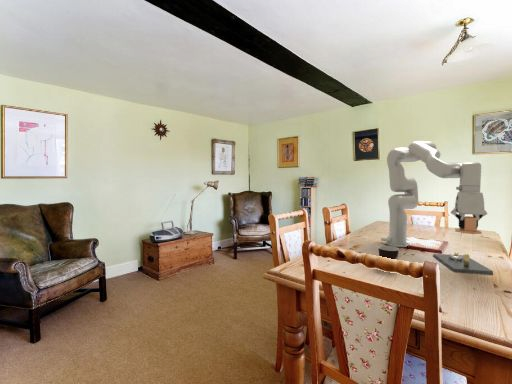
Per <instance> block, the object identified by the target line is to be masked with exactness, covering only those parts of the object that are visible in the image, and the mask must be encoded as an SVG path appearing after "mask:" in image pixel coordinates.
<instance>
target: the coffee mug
mask: <svg viewBox="0 0 512 384" xmlns="http://www.w3.org/2000/svg"><path fill="white" fill-rule="evenodd" d="M377 248H378V257H379V256H382V257H387V258H391V259H397V260H398V256H399V250H400V249H399V247H394V246H390V245H379V246H378V247H377Z"/></svg>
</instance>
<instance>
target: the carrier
mask: <svg viewBox="0 0 512 384" xmlns="http://www.w3.org/2000/svg"><path fill="white" fill-rule="evenodd" d="M432 256H433V258H435V259H436V260H437V261H438V262H440V263H441V264H443V265H444V266H445V267H447V268H448V269H450V270H451V271H452V272H454V273H463V274H464V273H465V274H477V275H478V274H481V275H491V276H493V275H494V271H493V270H492V269H491V268H488V267H487V266H485V265H483V264H481V263H480V262H478V261H476V260H475V259H473V258H471V257H470V254H469V253H465V254H463V255H462V254H459V252H454V254H451V253H450V254H449V253H448V254H446V253H445V254H444V253H443V254H442V253H433V255H432Z"/></svg>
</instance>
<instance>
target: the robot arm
mask: <svg viewBox="0 0 512 384" xmlns="http://www.w3.org/2000/svg"><path fill="white" fill-rule="evenodd" d="M440 157H441V152H440V151H439V150H438V149H437V145H436V143H434V142H433V141H429V140H426V141H425V140H417V141H416V140H415V141H412V142H411V143H409V145H408V147H396V148H393V149H391V150H390V151H389V152H388V154H387V157H386V165H387V168H388V177H389V188H390V190H391V191H392V192H393V193H397V194H393V195H391V196H390V197H389V198H388V201H387V204H388V209H389V228H388V229H389V232H388V236H386V237H380V241H383V242H385V243H386V246H393V247H396V248H407V246H408V245H409V246H410V244H409V243H408V242H407V236H408V234H407V230H408V228H407V227H408V216H407V213H406V211H405V210H414V209H415V208H417V207H418V205H419V187H418V183H417V180H416V179H415V178H414V177H411V176H406V175H405V168H404V166H403V164H402V163H414V162H418V161H421V162H423V163H424V164H425V166H426V169H427V170H428V171H429V172H430V173H432V174H433V175H434V176H436V177H439V178H441V179H459V184H458V186H456V187H455V188H456V190H457V191H458V192H457V195H456V197H455V203H454V207H453V209H452V210H451V211H450V214H451V215H453V216H454V217H456V219H457V220H458V227H459V228H461V229H464V222H465V221H464V216H466V215H472V217H475V218H477V224H476V230H478V227H479V221H480V220H481V219H482V218H483V217H485V216H486V215H488V212H487V211H486V209H485V199H484V195H483V192H481V185H482V184H481V183H482V182H481V178H482V164H481V163H480V162H478V161H477V162H471V161H468V162H445V161H443V160H441V159H440ZM398 193H399V194H398ZM409 246H408V247H409Z"/></svg>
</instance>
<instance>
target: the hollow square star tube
mask: <svg viewBox="0 0 512 384" xmlns="http://www.w3.org/2000/svg"><path fill="white" fill-rule="evenodd" d="M464 221H465V222H464V229H461V228H458V227H455V230H454V231H455V233H461V234H467V235H469V234H470V235H482V231H481V230H480V229H476V224H477V218H475V217H473V215H472V216H466V215H465V216H464Z"/></svg>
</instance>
